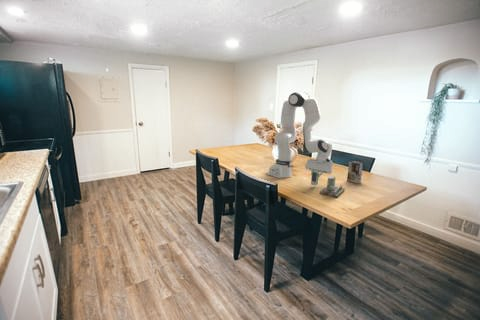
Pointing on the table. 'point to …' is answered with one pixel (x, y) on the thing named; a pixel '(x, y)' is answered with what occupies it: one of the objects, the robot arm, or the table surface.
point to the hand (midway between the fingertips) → (315, 175)
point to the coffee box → (355, 171)
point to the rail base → (332, 188)
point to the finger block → (314, 177)
